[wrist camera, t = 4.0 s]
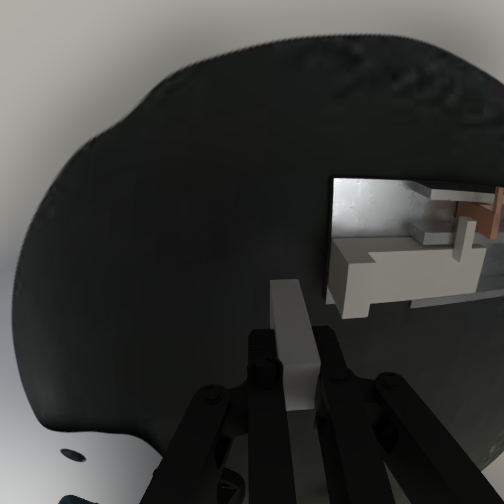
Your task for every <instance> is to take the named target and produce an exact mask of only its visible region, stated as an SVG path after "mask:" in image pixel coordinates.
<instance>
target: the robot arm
mask: <svg viewBox="0 0 504 504" xmlns="http://www.w3.org/2000/svg"><path fill="white" fill-rule="evenodd" d="M270 328H271V329H259V330H252V332H251V333H250V335H249V336H248V367H247V373H248V378H247V380H246V381H245V382H244V383H243V384H242V385H240V386H238V387H235V388H232V389H228V390H227V389H226V388H224V387H223V386H220V385H214V384H210V385H206V386H203V387H202V388H200V389H198V391H197V392H196V393H195V395H194V397H193V399H192V401H191V403H190V405H189V407H188V409H187V411H186V413H185V415H184V417H183V419H182V421H181V423H180V425H179V427H178V429H177V431H176V433H175V435H174V437H173V439H172V441H171V443H170V445H169V447H168V449H167V450H166V452H165V454H164V456H163V459H162V460H161V462H160V464H159V466H158V468H156V469H155V470H154V472H153V477H152V480H151V482H150V484H149V486H148V488H147V490H146V492H145V493H144V495H143V497H142V499H141V501H140V503H139V504H242V503H243V500H244V498H245V482H244V480H243V479H242V478H241V477H240V476H239V475H237V474H236V473H234V472H232V471H230V470H227V469H224V465H225V463H226V460H227V457H228V454H229V451H230V449H231V446H232V443H233V440H234V437H237V436H240V435H244V434H247V433H248V465H249V504H297V503H296V494H295V484H294V475H293V466H292V457H291V448H290V439H289V430H288V421H287V413H286V411H290V410H304V409H314V404H316V409H317V410H316V416H315V421H314V428H313V429H316V426H317V430H318V435H319V441H320V447H321V452H322V458H323V464H324V469H325V475H326V481H327V487H328V493H329V499H330V504H396V503H395V500H394V496H393V493H392V489H391V486H390V482H389V479H388V476H387V472H386V469H385V465H384V462H385V463H386V465H387V466H388V468H389V470H390V471H391V473H392V474H393V476H394V477H395V479H396V480H397V482H398V484H399V485H400V487H401V488H402V490H403V491H404V493H405V495H406V496H407V498H408V499H409V501H410V502H411V504H504V501H503V500H502V498H501V497H500V496H499V495H498V493H497V492H496V491H495V489H494V488H493V487H492V486H491V484H490V483H489V482H488V480H487V479H486V478H485V477H484V475H483V474H482V473H481V471H480V470H479V469H478V468H477V466H476V465H475V464H474V463H473V461H472V460H471V459H470V458H469V456H468V455H467V454H466V453H465V451H464V450H463V449H462V448H461V446H460V445H459V444H458V443H457V442H456V440H455V439H454V438H453V437H452V435H451V434H450V433H449V432H448V431H447V429H446V428H445V427H444V426H443V424H442V423H441V422H440V421H439V420H438V418H437V417H436V416H435V415H434V414H433V412H432V411H431V410H430V409H429V408H428V406H427V405H426V404H425V403H424V402H423V400H422V399H421V398H420V397H419V396H418V395H417V393H416V392H415V391H414V390H413V389H412V387H411V386H410V385H409V384H408V383H407V382H406V380H405V379H404V378H403V377H402V376H400V375H399V374H396V373H394V372H384V373H381V374H379V375H378V376H377V377H376V379H375V380H372V379H364V378H359V377H357V376H355V375H354V373H353V372H352V371H351V370H350V369H348V368H347V366H346V363H345V360H344V357H343V355H342V352H341V349H340V346H339V343H338V341H337V337H336V335H335V332H334V331H333V330H332V329H331V328H330V327H329V326H312V327H311V324H310V320H309V317H308V313H307V309H306V306H305V302H304V298H303V295H302V291H301V288H300V284H299V281H298V279H290V280H270ZM383 460H384V462H383ZM58 504H98V503H93V502H90V501H87V500H85V499H82V498H80V497H77V496H74V495H67V496H64V497H63V498H62V499H61V500H60V502H59V503H58Z"/></svg>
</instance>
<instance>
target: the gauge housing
mask: <svg viewBox="0 0 504 504" xmlns="http://www.w3.org/2000/svg"><path fill="white" fill-rule="evenodd" d="M502 188H504V187H502ZM495 190H496V186H488V185H479V184H469V183H458V182H446V181H434V180H419V179H402V178H381V177H351V176H331V185H330V211H329V230H328V247H327V262H326V275H325V287H324V301H325V303H326V304H335V302H334V299H333V297H332V295H331V293H330V291H329V288H328V282H329V270H330V257H331V243H332V239H334V238H380V237H414V238H415V239H416V240H418V241H419V242H420V243H421V244H423V245H437V244H455V240H456V234H457V228H458V222H459V221H458V220H457V219H456V215H457V208H458V201H469V202H484V203H488V204H490V205H491V211H493V204H494V198H495ZM500 215H501V217H500V222H499V228H498V233H497V238H496V240H490V239H488V238H486V237H485V236H483V235H482V234H480V233H478V232H477V231H475V233H474V239H473V244H474V243H480V244H481V245H483V246H484V247H486V253H485V257H484V261H483V265H482V269H481V273H480V277H479V281H478V285H477V288H476V292H475V293H468V294H460V295H452V296H443V297H434V298H425V299H415V300H405V302H406V303H407V305H408V306H409V307H410V308H417V307H426V306H434V305H442V304H450V303H457V302H465V301H472V300H479V299H485V298H492V297H498V296H504V192H503V199H502V206H501V212H500Z"/></svg>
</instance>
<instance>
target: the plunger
mask: <svg viewBox="0 0 504 504" xmlns="http://www.w3.org/2000/svg"><path fill="white" fill-rule="evenodd" d="M476 222H477V221H475V220H474V219H472V218H470V217H465V216H459V222H458V228H457V234H456V240H455V244H437V245H423V244H421V243H420V242H419V241H418V240H416V239H415V238H414V237H380V238H334V239H332V243H331V257H330V270H329V282H328V288H329V291H330V293H331V295H332V297H333V299H334V302H335V304H336V306H337V308H338V311H339V313H340V315H341V317H342V319H348V318H360V317H368V312H369V306H370V303H382V302H394V301H405V300H415V299H425V298H434V297H443V296H452V295H460V294H468V293H475V292H476V288H477V285H478V281H479V277H480V273H481V269H482V265H483V261H484V257H485V253H486V247H484V246H483V245H481V244H480V243H474V244H473V239H474V233H475V228H476Z"/></svg>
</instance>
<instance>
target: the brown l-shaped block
mask: <svg viewBox="0 0 504 504" xmlns="http://www.w3.org/2000/svg"><path fill="white" fill-rule="evenodd" d="M503 192H504V188H502V187H497V186H496V190H495V198H494V204H493V211H491V205H490V204H488V203H484V202H469V201H458V208H457V215H456V219H457V220H458V221H459V216H465V217H470V218H472V219H474V220H475V221H477V222H476V228H475V231H477V232H478V233H480V234H482V235H483V236H485V237H486V238H488V239H490V240H496V238H497V233H498V228H499V222H500V217H501V215H500V212H501V206H502V199H503Z"/></svg>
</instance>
